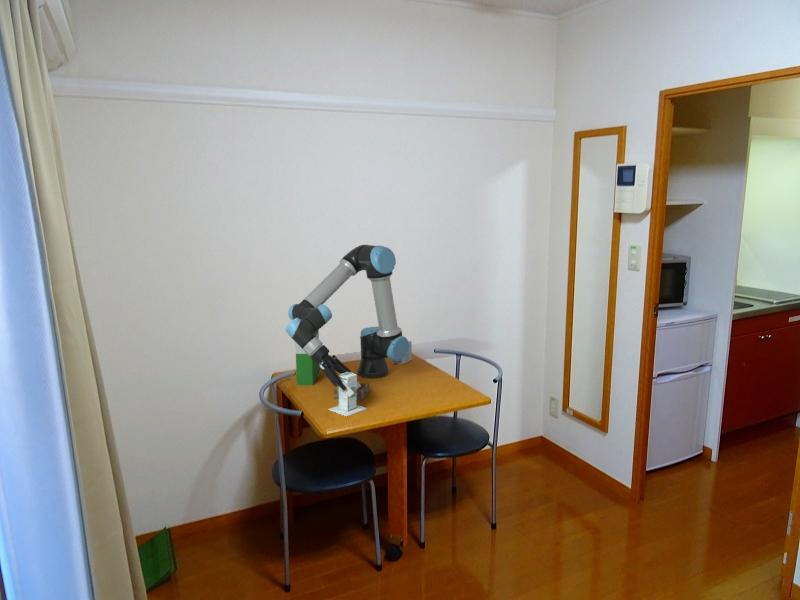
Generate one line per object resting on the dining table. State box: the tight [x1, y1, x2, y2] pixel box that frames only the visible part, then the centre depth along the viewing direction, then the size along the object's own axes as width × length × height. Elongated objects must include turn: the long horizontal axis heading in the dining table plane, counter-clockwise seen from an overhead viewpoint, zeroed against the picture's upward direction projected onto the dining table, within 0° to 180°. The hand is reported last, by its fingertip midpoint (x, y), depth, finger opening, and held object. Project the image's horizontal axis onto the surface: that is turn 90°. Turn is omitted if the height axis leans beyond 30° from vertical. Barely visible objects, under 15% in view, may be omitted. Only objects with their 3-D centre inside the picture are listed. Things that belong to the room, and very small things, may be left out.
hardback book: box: [294, 329, 321, 386], centre depth 270 cm, size 18×7×24 cm, turn 177°
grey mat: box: [328, 404, 368, 418], centre depth 233 cm, size 11×11×1 cm
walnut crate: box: [333, 382, 370, 403], centre depth 249 cm, size 12×12×4 cm
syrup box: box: [337, 371, 358, 411], centre depth 232 cm, size 6×6×14 cm
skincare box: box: [391, 340, 413, 365], centre depth 298 cm, size 10×6×10 cm, turn 147°
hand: (355, 391), depth 231 cm, fingers open, 8 cm apart
